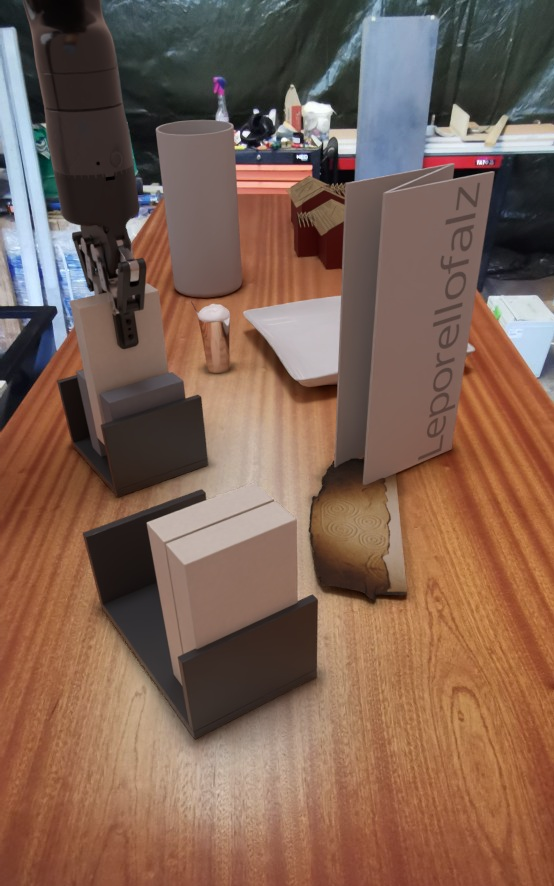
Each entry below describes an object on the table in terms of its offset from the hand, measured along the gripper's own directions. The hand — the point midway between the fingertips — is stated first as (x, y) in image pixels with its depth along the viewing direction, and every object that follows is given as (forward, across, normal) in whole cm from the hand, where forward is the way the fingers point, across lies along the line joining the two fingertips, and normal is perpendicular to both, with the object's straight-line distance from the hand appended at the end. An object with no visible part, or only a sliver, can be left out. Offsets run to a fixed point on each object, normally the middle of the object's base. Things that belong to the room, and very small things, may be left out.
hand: (122, 340), depth 81 cm
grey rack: (+15, -1, 0) cm, 15 cm away
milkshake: (+15, -17, +20) cm, 30 cm away
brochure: (+15, +18, +25) cm, 34 cm away
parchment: (+15, +26, +13) cm, 33 cm away
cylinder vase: (+15, -48, +36) cm, 62 cm away
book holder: (+15, +32, -9) cm, 36 cm away
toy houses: (+15, -50, +69) cm, 87 cm away
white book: (+11, 0, 0) cm, 11 cm away
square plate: (+15, -10, +40) cm, 44 cm away
